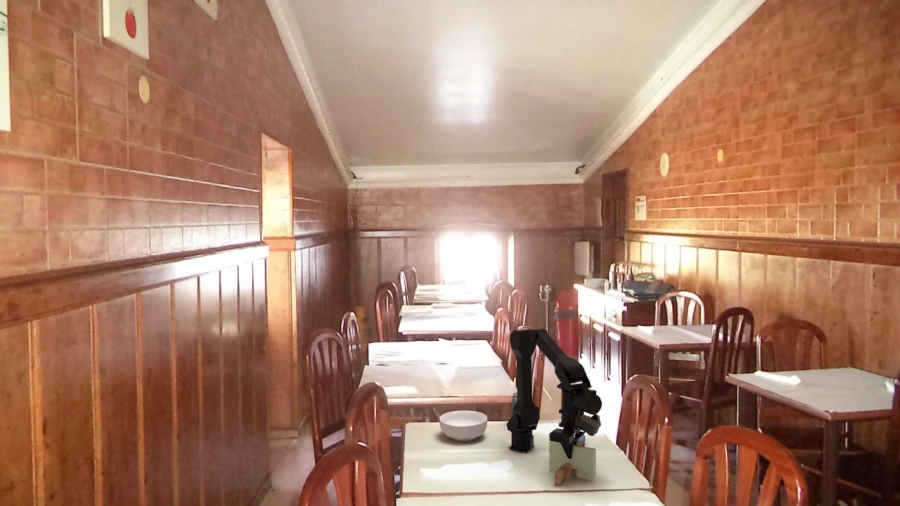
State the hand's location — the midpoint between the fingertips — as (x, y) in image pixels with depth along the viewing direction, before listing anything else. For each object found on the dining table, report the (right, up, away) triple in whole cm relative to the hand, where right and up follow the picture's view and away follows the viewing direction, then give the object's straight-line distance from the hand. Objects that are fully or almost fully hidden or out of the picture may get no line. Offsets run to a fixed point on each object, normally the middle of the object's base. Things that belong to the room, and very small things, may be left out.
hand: (570, 457), depth 194 cm
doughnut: (+5, -4, +27) cm, 27 cm away
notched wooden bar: (0, -5, 0) cm, 5 cm away
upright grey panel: (0, -5, 0) cm, 5 cm away
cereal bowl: (-31, -4, +33) cm, 46 cm away
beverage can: (-10, -3, +44) cm, 45 cm away
